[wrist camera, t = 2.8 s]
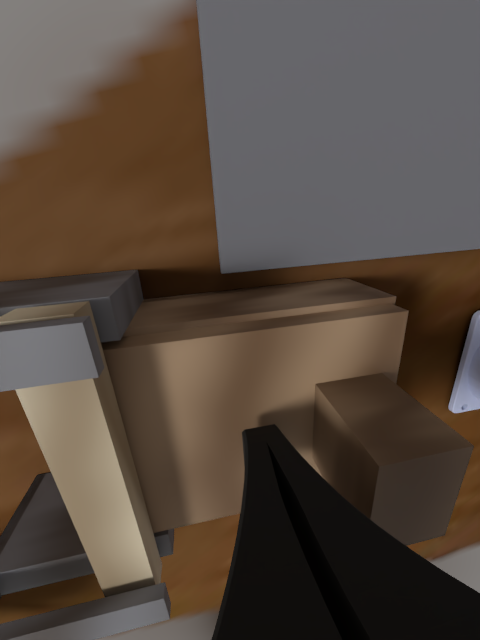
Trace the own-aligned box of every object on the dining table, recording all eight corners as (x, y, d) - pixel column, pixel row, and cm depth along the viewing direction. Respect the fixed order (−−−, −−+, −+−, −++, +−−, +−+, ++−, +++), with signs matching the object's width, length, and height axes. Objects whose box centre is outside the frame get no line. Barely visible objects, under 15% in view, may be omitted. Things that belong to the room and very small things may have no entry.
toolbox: (347, 250, 15) (484, 276, 8) (333, 436, 19) (410, 552, 12) (-50, 286, 12) (-365, 373, 5) (45, 492, 16) (-55, 680, 10)
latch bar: (89, 301, 8) (72, 314, 7) (161, 563, 13) (159, 596, 12) (15, 308, 8) (-14, 323, 7) (117, 574, 12) (110, 609, 11)
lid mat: (559, -37, 12) (575, -47, 11) (486, 246, 16) (495, 247, 16) (190, -68, 9) (190, -83, 9) (220, 272, 14) (221, 273, 13)
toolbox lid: (391, 303, 11) (526, 359, 7) (367, 465, 15) (448, 575, 10) (46, 346, 10) (-88, 464, 5) (109, 521, 13) (64, 688, 8)
